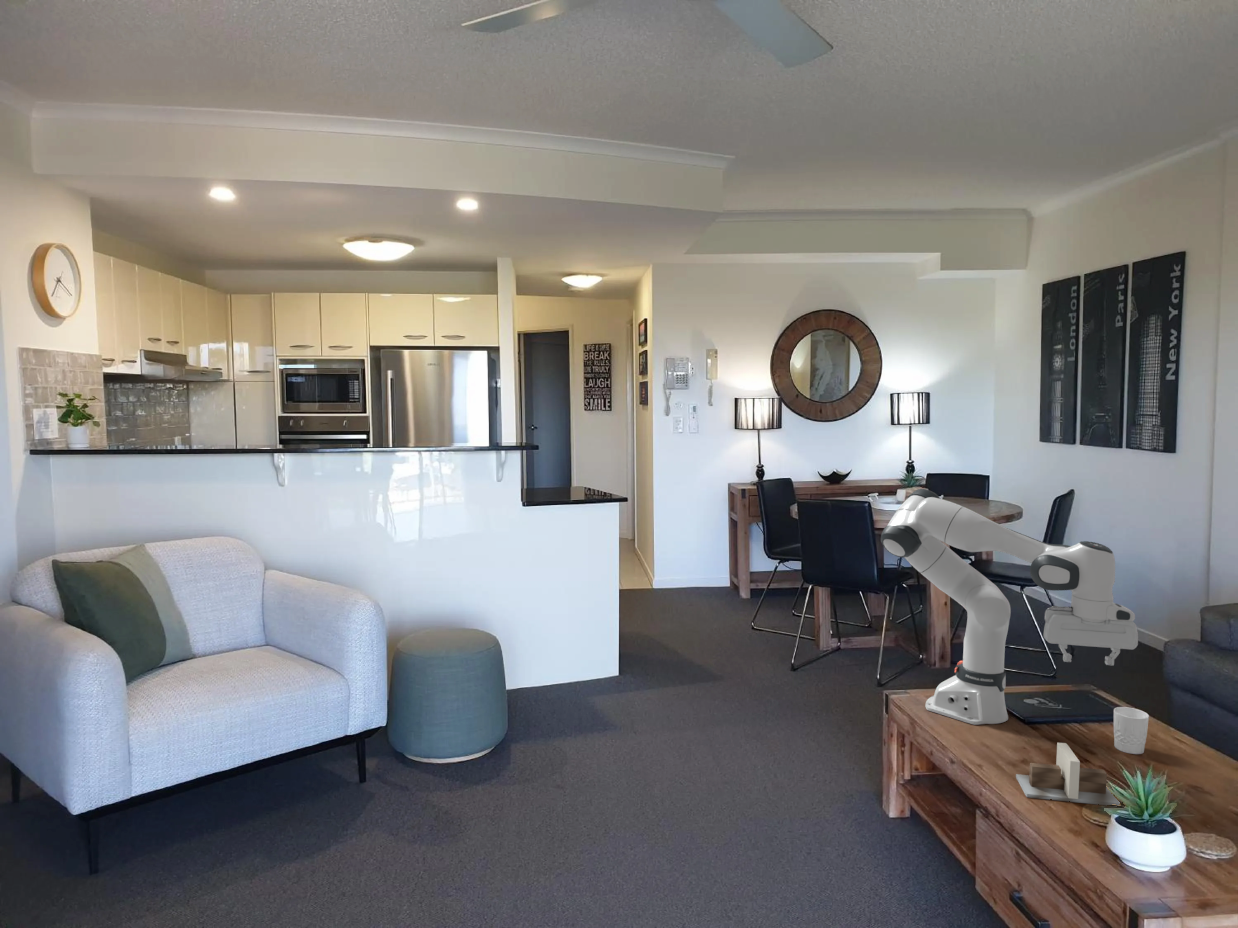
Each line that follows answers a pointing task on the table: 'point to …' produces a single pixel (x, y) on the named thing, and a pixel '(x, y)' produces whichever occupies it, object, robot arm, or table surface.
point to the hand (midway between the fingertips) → (1087, 662)
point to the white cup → (1130, 729)
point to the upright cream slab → (1068, 769)
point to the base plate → (1051, 785)
